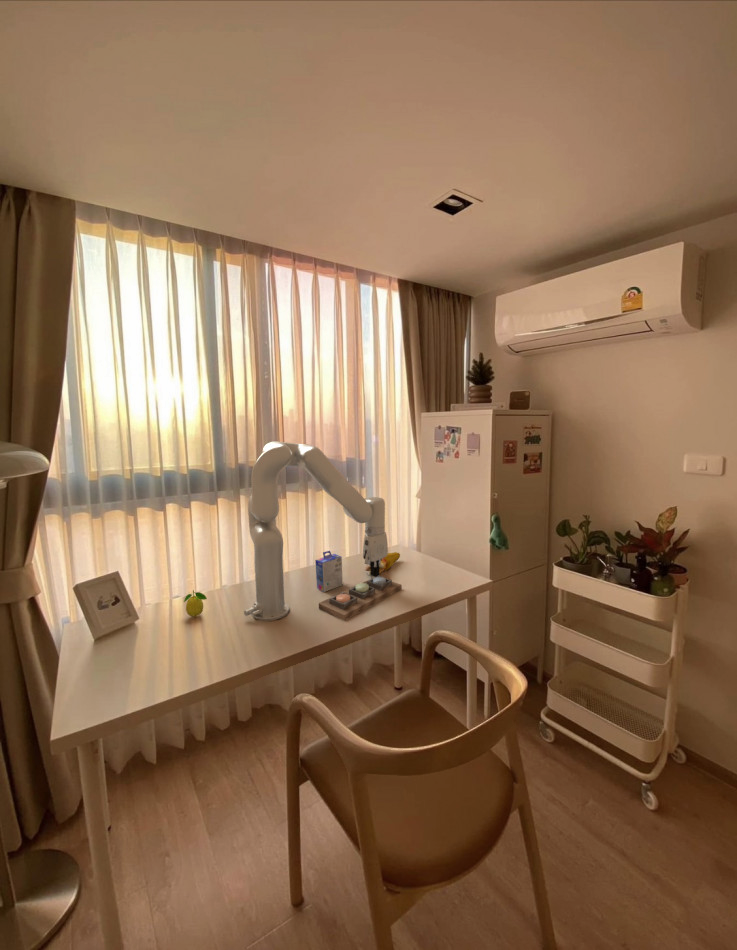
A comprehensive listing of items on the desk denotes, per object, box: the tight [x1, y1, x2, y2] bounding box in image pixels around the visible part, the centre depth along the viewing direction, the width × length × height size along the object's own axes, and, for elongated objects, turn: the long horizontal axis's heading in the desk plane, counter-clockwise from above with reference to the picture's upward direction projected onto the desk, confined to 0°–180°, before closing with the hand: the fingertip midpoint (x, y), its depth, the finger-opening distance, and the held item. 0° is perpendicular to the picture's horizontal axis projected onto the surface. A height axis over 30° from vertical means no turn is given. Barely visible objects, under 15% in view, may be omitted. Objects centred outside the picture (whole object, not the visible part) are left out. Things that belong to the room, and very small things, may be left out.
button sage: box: [355, 582, 369, 594], centre depth 153 cm, size 5×5×2 cm
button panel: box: [318, 575, 403, 621], centre depth 153 cm, size 32×13×4 cm, turn 138°
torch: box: [363, 551, 401, 578], centre depth 181 cm, size 8×8×25 cm
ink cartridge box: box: [314, 550, 344, 593], centre depth 163 cm, size 10×6×14 cm, turn 133°
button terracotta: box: [336, 594, 350, 603], centre depth 146 cm, size 5×5×2 cm
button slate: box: [373, 576, 386, 585], centre depth 160 cm, size 5×5×2 cm
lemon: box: [183, 589, 207, 618], centre depth 140 cm, size 7×6×10 cm
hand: (374, 575), depth 158 cm, fingers closed
